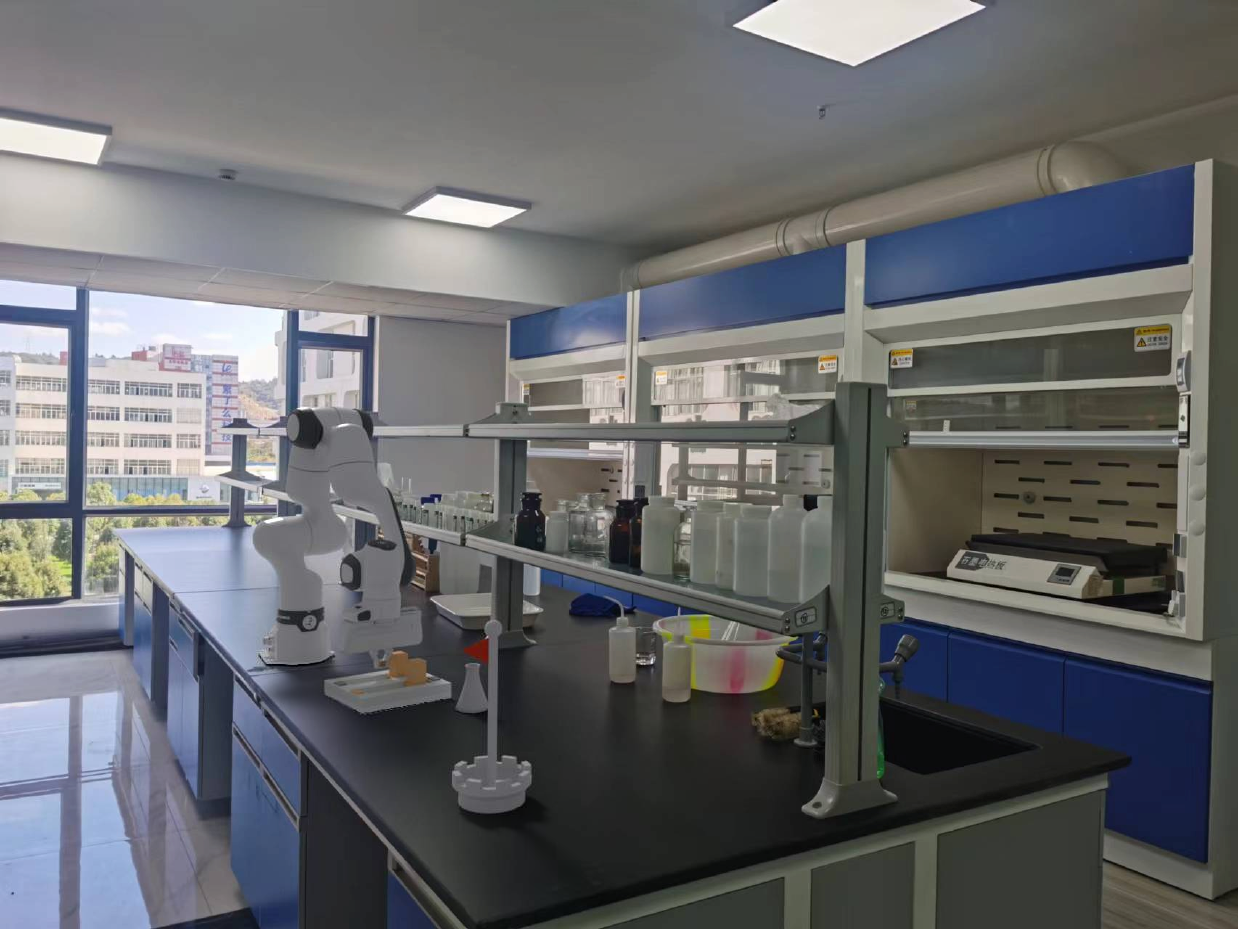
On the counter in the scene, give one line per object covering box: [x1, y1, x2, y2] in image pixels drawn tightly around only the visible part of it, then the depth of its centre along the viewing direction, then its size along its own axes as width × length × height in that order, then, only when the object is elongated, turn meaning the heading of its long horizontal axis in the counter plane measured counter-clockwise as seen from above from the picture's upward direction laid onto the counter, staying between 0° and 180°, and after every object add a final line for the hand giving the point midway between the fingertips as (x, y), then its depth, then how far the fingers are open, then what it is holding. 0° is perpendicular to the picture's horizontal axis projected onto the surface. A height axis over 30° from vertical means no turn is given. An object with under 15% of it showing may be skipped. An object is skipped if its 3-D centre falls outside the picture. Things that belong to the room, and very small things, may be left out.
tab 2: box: [405, 657, 427, 687], centre depth 214 cm, size 4×4×7 cm
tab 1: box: [387, 650, 409, 679], centre depth 221 cm, size 4×4×7 cm
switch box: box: [323, 669, 452, 713], centre depth 215 cm, size 20×22×4 cm
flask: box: [454, 662, 488, 714], centre depth 205 cm, size 7×7×10 cm
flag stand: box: [451, 619, 532, 814], centre depth 153 cm, size 13×13×30 cm
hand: (381, 667), depth 218 cm, fingers closed
